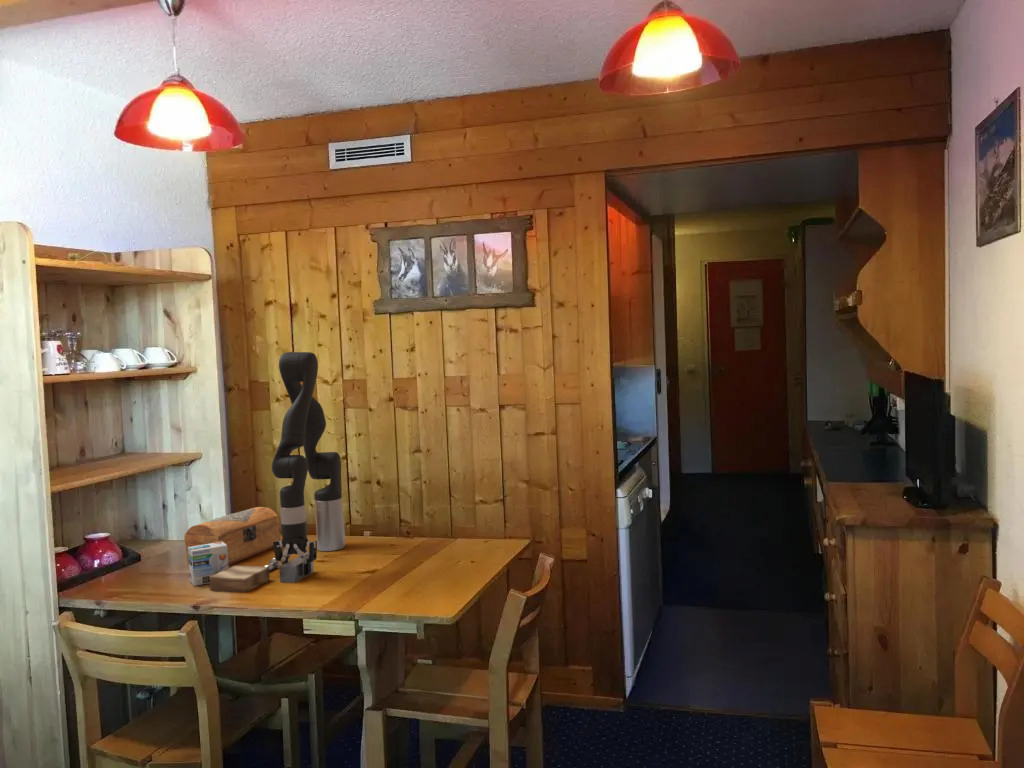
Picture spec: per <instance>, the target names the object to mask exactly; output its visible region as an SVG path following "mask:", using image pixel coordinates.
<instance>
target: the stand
mask: <svg viewBox="0 0 1024 768" xmlns="http://www.w3.org/2000/svg"><path fill="white" fill-rule="evenodd" d="M209 578H210V583H209V588H210V589H209V591H214V592H231V593H232V592H234V593H247V592H249V591H251V590H253V589H255V588H257V587H259V586H261V585H262V584H263V585H264V584H265V583H266V582H268V581H271V579H270V571H269V567H264V566H258V565H256V566H253V565H232V566H231V567H229V568H228V569H226V570H224V571H222V572H219V573H217V574H215V575H213V576H211V577H209Z"/></svg>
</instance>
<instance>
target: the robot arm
mask: <svg viewBox="0 0 1024 768" xmlns="http://www.w3.org/2000/svg"><path fill="white" fill-rule="evenodd" d="M278 367H279V368H278V369H279V374H280V377H281V380H282V383H283V385H284V387H285V390H286V392H287V395H288V397H289V400H290V404H291V405H290V406H289V408H288V410H287V411H286V413H285V415H284V418H283V420H282V426H281V427H282V428H281V437H280V440H279V444H278V446H277V449H276V452H275V454H274V457H273V459H272V463H271V471H272V473H273V475H274V477H276V478H277V479H292V482H291V484H290V485H286V486H284V487H282V488H280V490H279V502H280V513H279V515H280V518H279V519H280V534H281V537H282V538H281V539H280V540H277V541H275V542H273V545H274V547H273V549H274V550H273V551H274V558H276V561H280V564H281V565H283V564H285V563H287V562H289V561H290V560H289V559H290V558H291V556H292V555H297V556H299V557H300V558H302V560H303V562H304V563H305V564H304V576H306V577H308V576H309V575H311V574H312V573H311V562H312V561H313V562H314V561H316V560H317V555H318V554H317V553H318V551H322V552H331V551H337V550H342V549H344V548H345V547H346V533H345V532H346V531H345V530H346V529H345V518H344V513H343V512H344V511H343V495H342V494H343V493H342V492H343V491H342V459H341V456H340V454H339V453H338V452H337V451H329V452H328V451H327V452H325V451H324V452H323V451H322V452H318V451H317V445H318V443H319V441H320V439H321V438H322V436H323V434H324V432H325V431H326V427H327V421H326V418H325V417H326V416H325V413H324V409H323V407H322V404H320V402H319V401H318V400H317V399H316V398H315V397H313V395H314V391H315V386H316V382H317V377H318V372H319V371H318V369H319V362H318V357H317V356H316V354H315V353H314V352H309V351H306V352H305V351H299V352H298V351H289V352H283V353H282V354H281V355H280V357H279V360H278ZM302 447H303V451H304V455H305V456H304V455H301V454H291V453H292V452H293V451H294V450H297V449H301V448H302ZM308 475H309V477H310V478H311V479H312V480H330V481H329V484H327V485H326V486H324V487H322V488H319V489H316V491H314V493H313V495H314V496H313V498H314V499H313V500H314V513H315V527H316V528H315V529H316V530H315V531H316V540H313V541H310V540H308V537H307V536H308V525H307V524H308V523H307V511H306V506H305V487H306V481H307V476H308ZM283 548H284V550H283ZM317 550H318V551H317ZM310 573H311V574H310Z"/></svg>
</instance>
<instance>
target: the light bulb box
mask: <svg viewBox="0 0 1024 768" xmlns="http://www.w3.org/2000/svg"><path fill="white" fill-rule="evenodd" d="M188 555H189V565H188V567H189V568H188V569H189V581H190V583H191V584H192V585H193V586H194V587H195V586H202V585H207V584H210V578H209V577H211V576H213V575H215V574H217V573H219V572H222V571H224V570H226V569H228V568H230V567H229V566H230V565H228V548H227V545H226V544H225V543H224V542H223V541H221V542H216V543H210V544H204V545H198V546H192V547H188Z"/></svg>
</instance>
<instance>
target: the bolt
mask: <svg viewBox="0 0 1024 768" xmlns="http://www.w3.org/2000/svg"><path fill="white" fill-rule="evenodd" d="M279 566H281V561H276V558H275V557H273V558H271V559H270V560H269V563H268V564H267V565H264V566H263V567H269V572H271V571H273V570H275V569H277V568H279Z"/></svg>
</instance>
